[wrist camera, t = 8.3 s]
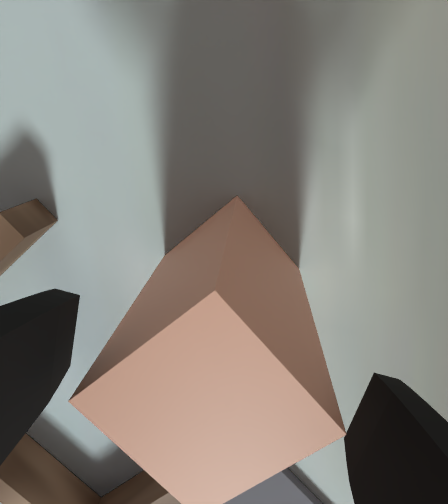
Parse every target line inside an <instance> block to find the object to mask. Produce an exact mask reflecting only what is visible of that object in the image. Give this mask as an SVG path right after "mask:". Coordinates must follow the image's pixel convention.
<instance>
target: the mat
mask: <svg viewBox="0 0 448 504" xmlns="http://www.w3.org/2000/svg"><path fill="white" fill-rule="evenodd" d="M223 504H322V503H321V502H320V501H319V500H318V499H317V498H316V496H315V495H314V494H313V493H312V492H311V491H310V490H309V489H308V488H307V487H306V486H305V485H304V484H303V483H302V482H301V481H300V480H299V479H298V478H297V477H296V476H295V475H294V474H293V473H292V472H291V471H290V470H289V469H288V468H286V469H284V470H282V471H280V472H279V473H277V474H275V475H273V476H272V477H270V478H268V479H266V480H264V481H263V482H261V483H259V484H257V485H255V486H254V487H252V488H250V489H248V490H247V491H245V492H243V493H241V494H239V495H238V496H236V497H234V498H232V499H230V500H229V501H227V502H225V503H223Z"/></svg>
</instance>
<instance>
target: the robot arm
mask: <svg viewBox="0 0 448 504" xmlns="http://www.w3.org/2000/svg"><path fill="white" fill-rule="evenodd" d="M79 298H80V295H77V294H73V293H70V292H66V291H62V290H58V289H52V290H47V291H44V292H41V293H37V294H34V295H31V296H28V297H25V298H22V299H19V300H16V301H14V302H11V303H8V304H5V305H2V306H0V466H1V464H2V463H3V462H4V460H5V459H6V458H7V457H8V455H9V454H10V453H11V451H12V450H13V449H14V447H15V446H16V445H17V444H18V442H19V441H20V440H21V438H22V437H23V436H24V435H25V433H26V432H27V431H28V429H29V428H30V427H31V425H32V424H33V423H34V421H35V420H36V419H37V418H38V416H39V415H40V414H41V412H42V411H43V410H44V408H45V407H46V406H47V404H48V403H49V401H50V400H51V398H52V396H53V395H54V393H55V391H56V390H57V388H58V386H59V385H60V383H61V381H62V379H63V378H64V376H65V374H66V372H67V371H68V369H69V367H70V364H71V357H72V349H73V342H74V335H75V327H76V320H77V313H78V305H79ZM344 442H345V452H346V461H347V469H348V476H349V482H350V487H351V491H352V495H353V499H354V503H355V504H448V422H447V421H446V420H445V419H444V418H443V417H442V416H441V415H440V414H438V413H437V412H436V411H435V410H434V409H433V408H432V407H431V406H430V405H429V404H428V403H427V402H425V401H424V400H423V399H422V398H421V397H420V396H419V395H418V394H417V393H415V392H414V391H413V390H412V389H411V388H410V387H408V386H407V385H406V384H405V383H403V382H402V381H401V380H399V379H396V378H392V377H388V376H385V375H381V374H377V373H374V374H373V376H372V378H371V381H370V383H369V385H368V387H367V389H366V391H365V394H364V396H363V398H362V400H361V402H360V404H359V407H358V409H357V411H356V413H355V415H354V417H353V420H352V422H351V424H350V426H349V428H348V430H347V433H346V435H345V437H344Z"/></svg>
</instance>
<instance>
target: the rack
mask: <svg viewBox="0 0 448 504" xmlns="http://www.w3.org/2000/svg"><path fill="white" fill-rule="evenodd" d="M57 221H58V220H57V219H56V218H55V217H54V216H53V215H52V214H51V213H50V212H49V211H48V210H47V209H46V208H45V207H44V206H43V205H42V204H41V203H40V202H39V201H38V200H37V199H34V200H31V201H29V202H26V203H23V204H21V205H18V206H15V207H13V208H10V209H7V210H4V211H2V212H0V276H1V275H2V274H3V273H4V272H5V271H6V270H7V269H8V268H9V267H10V266H11V265H12V264H13V263H14V262H15V261H16V260H17V259H18V258H19V257H20V256H21V255H22V254H23V253H24V252H26V251H27V250H28V249H29V248H30V247H31V246H32V245H33V244H34V243H35V242H36V241H37V240H38V239H39V238H40V237H41V236H42V235H43V234H44V233H45V232H46V231H47V230H48V229H49V228H51V227H52V226H53V225H54V224H55V223H56V222H57ZM0 502H1V503H2V504H181V503H180V502H179V501H178V500H177V499H176V498H175V497H173V496H172V495H171V494H170V493H169V492H168V491H167V490H166V489H165V488H164V487H162V486H161V485H160V484H159V483H158V482H157V481H156V480H155V479H154V478H152V477H151V476H150V475H149V474H148V473H147V472H146V471H145V470H144V471H142V472H141V473H139V474H138V475H136V476H134V477H133V478H131V479H130V480H128V481H127V482H125V483H123V484H122V485H120V486H119V487H117V488H116V489H114V490H112V491H111V492H109V493H108V494H106V495H105V496H103V497H100V496H98V495H97V494H96V493H95V492H94V491H93V490H91V489H90V488H89V487H88V486H87V485H86V484H84V483H83V482H82V481H81V480H80V479H79V478H77V477H76V476H75V475H74V474H73V473H72V472H70V471H69V470H68V469H67V468H66V467H64V466H63V465H62V464H61V463H60V462H59V461H57V460H56V459H55V458H54V457H53V456H52V455H50V454H49V453H48V452H47V451H46V450H45V449H43V448H42V447H41V446H40V445H39V444H38V443H36V442H35V441H34V440H33V439H32V438H31V437H29V436H28V435H27V434H26V433H25V435H24V436H23V437H22V438H21V440H20V441H19V442H18V444H17V445H16V446H15V447H14V449H13V450H12V451H11V453H10V454H9V455H8V457H7V458H6V459H5V460H4V462H3V463H2V464H1V466H0Z"/></svg>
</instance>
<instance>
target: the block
mask: <svg viewBox="0 0 448 504" xmlns="http://www.w3.org/2000/svg"><path fill="white" fill-rule="evenodd" d="M68 402H69V403H71V404H72V405H73V406H74V407H75V408H76V409H77V410H78V411H79V412H81V413H82V414H83V415H84V416H85V417H86V418H87V419H88V420H89V421H91V422H92V423H93V424H94V425H95V426H96V427H97V428H98V429H99V430H100V431H102V432H103V433H104V434H105V435H106V436H107V437H108V438H109V439H110V440H112V441H113V442H114V443H115V444H116V445H117V446H118V447H119V448H120V449H121V450H123V451H124V452H125V453H126V454H127V455H128V456H129V457H130V458H131V459H133V460H134V461H135V462H136V463H137V464H138V465H139V466H140V467H141V468H143V469H144V470H145V471H146V472H147V473H148V474H149V475H150V476H151V477H152V478H154V479H155V480H156V481H157V482H158V483H159V484H160V485H161V486H162V487H164V488H165V489H166V490H167V491H168V492H169V493H170V494H171V495H172V496H173V497H175V498H176V499H177V500H178V501H179V502H180V503H181V504H223V503H225V502H227V501H229V500H230V499H232V498H234V497H236V496H238V495H239V494H241V493H243V492H245V491H247V490H248V489H250V488H252V487H254V486H255V485H257V484H259V483H261V482H263V481H264V480H266V479H268V478H270V477H272V476H273V475H275V474H277V473H279V472H280V471H282V470H284V469H286V468H288V467H289V466H291V465H293V464H295V463H297V462H298V461H300V460H302V459H304V458H306V457H307V456H309V455H311V454H313V453H314V452H316V451H318V450H320V449H322V448H323V447H325V446H327V445H329V444H331V443H332V442H334V441H336V440H338V439H339V438H341V437H343V436H345V435H346V431H345V428H344V424H343V421H342V417H341V414H340V410H339V407H338V403H337V400H336V396H335V393H334V389H333V386H332V382H331V379H330V375H329V372H328V368H327V365H326V361H325V358H324V354H323V351H322V347H321V344H320V340H319V337H318V333H317V330H316V327H315V323H314V320H313V316H312V313H311V309H310V306H309V302H308V299H307V295H306V292H305V288H304V285H303V281H302V278H301V274H300V271H299V268H298V267H297V266H296V265H295V264H294V262H293V261H292V260H291V259H290V258H289V256H288V255H287V254H286V253H285V252H284V250H283V249H282V248H281V247H280V246H279V244H278V243H277V242H276V241H275V240H274V238H273V237H272V236H271V235H270V234H269V233H268V231H267V230H266V229H265V228H264V227H263V225H262V224H261V223H260V222H259V221H258V219H257V218H256V217H255V216H254V215H253V213H252V212H251V211H250V210H249V209H248V208H247V206H246V205H245V204H244V203H243V202H242V200H241V199H240V198H239V197H238V196H236V197H235V198H233V199H232V200H231V201H230V202H229V203H227V204H226V205H225V206H224V207H223V208H221V209H220V210H219V211H218V212H217V213H215V214H214V215H213V216H212V217H211V218H209V219H208V220H207V221H206V222H204V223H203V224H202V225H201V226H200V227H198V228H197V229H196V230H195V231H194V232H192V233H191V234H190V235H189V236H188V237H186V238H185V239H184V240H183V241H181V242H180V243H179V244H178V245H177V246H175V247H174V248H173V249H172V250H171V251H169V252H168V253H167V254H166V255H165V256H164V257H163V259H162V260H161V262H160V263H159V265H158V266H157V268H156V269H155V271H154V272H153V274H152V275H151V277H150V278H149V280H148V281H147V283H146V284H145V286H144V287H143V289H142V291H141V292H140V294H139V295H138V297H137V298H136V300H135V301H134V303H133V304H132V306H131V307H130V309H129V310H128V312H127V313H126V315H125V316H124V318H123V319H122V321H121V322H120V324H119V325H118V327H117V328H116V330H115V331H114V333H113V334H112V336H111V337H110V339H109V340H108V342H107V344H106V345H105V347H104V348H103V350H102V351H101V353H100V354H99V356H98V357H97V359H96V360H95V362H94V363H93V365H92V366H91V368H90V369H89V371H88V372H87V374H86V375H85V377H84V378H83V380H82V381H81V383H80V384H79V386H78V387H77V389H76V390H75V392H74V394H73V395H72V397H71V398H70V400H69V401H68Z"/></svg>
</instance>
